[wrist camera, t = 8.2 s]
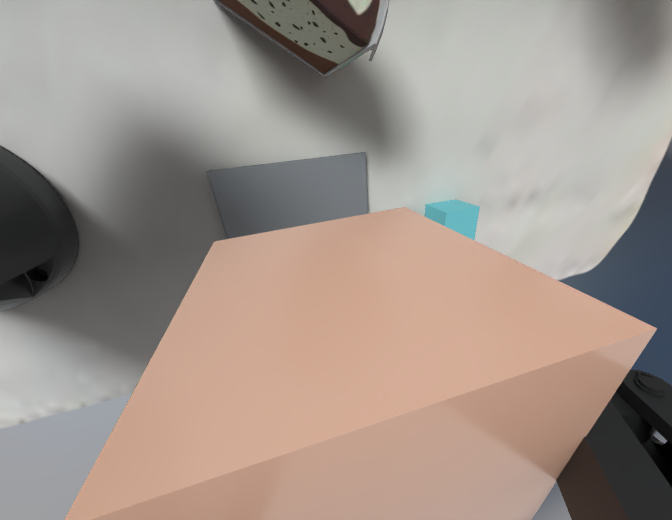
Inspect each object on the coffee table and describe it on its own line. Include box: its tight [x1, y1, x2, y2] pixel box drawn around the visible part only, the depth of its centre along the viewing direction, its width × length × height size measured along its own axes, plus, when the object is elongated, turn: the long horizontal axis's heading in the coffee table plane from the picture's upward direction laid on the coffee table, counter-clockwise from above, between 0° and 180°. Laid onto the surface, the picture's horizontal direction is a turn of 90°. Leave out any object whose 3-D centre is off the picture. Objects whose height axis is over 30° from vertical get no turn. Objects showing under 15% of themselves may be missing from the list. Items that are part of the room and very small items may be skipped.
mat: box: [207, 152, 368, 239], centre depth 27 cm, size 15×15×1 cm
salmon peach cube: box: [65, 207, 657, 520], centre depth 11 cm, size 10×10×10 cm
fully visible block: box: [425, 200, 480, 240], centre depth 29 cm, size 4×4×4 cm
